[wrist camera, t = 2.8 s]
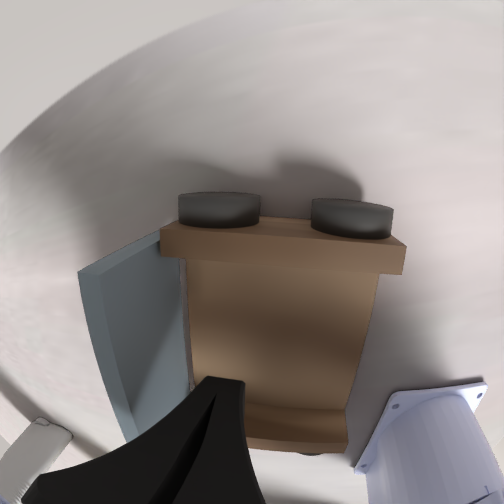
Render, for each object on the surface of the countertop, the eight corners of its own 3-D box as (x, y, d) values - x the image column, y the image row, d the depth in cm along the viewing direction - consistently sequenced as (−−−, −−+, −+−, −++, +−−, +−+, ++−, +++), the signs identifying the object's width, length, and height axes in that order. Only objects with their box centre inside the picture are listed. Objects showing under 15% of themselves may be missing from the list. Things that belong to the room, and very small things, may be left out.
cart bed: (335, 417, 16) (339, 462, 12) (203, 404, 17) (186, 446, 13) (380, 203, 12) (410, 216, 8) (194, 191, 13) (158, 200, 10)
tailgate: (191, 403, 15) (157, 478, 10) (172, 399, 15) (134, 470, 10) (178, 229, 12) (99, 275, 7) (153, 228, 12) (67, 270, 7)
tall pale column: (42, 436, 25) (-33, 531, 4) (24, 413, 24) (-59, 507, 3) (84, 446, 22) (-1, 573, 1) (62, 420, 22) (-37, 547, 1)
